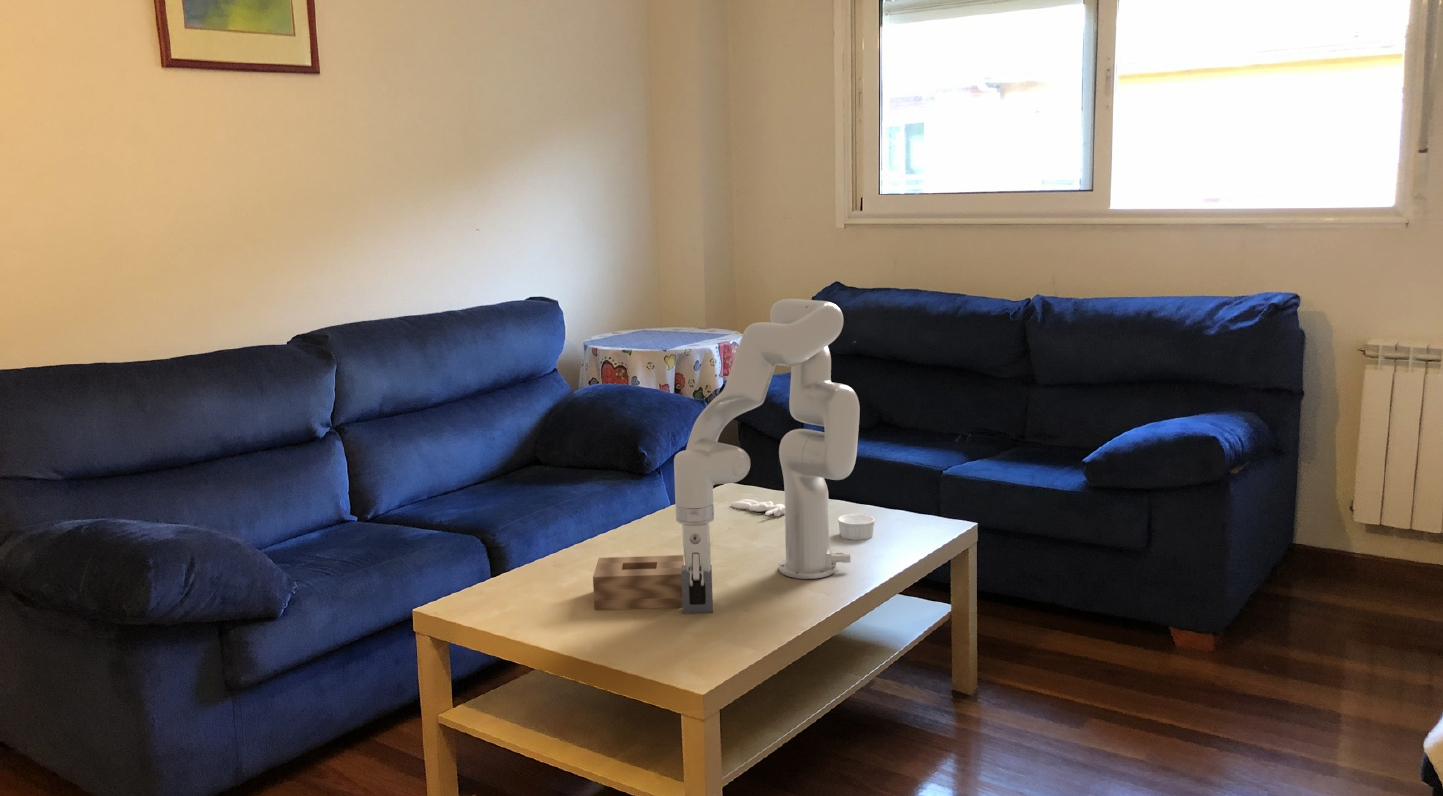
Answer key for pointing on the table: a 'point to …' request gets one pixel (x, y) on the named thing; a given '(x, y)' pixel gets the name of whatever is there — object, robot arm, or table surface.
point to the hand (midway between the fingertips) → (697, 599)
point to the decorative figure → (760, 506)
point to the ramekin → (856, 526)
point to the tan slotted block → (638, 582)
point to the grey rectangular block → (708, 592)
